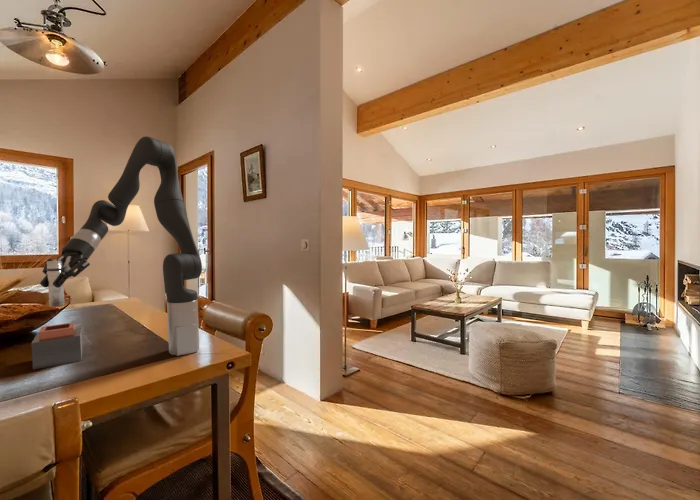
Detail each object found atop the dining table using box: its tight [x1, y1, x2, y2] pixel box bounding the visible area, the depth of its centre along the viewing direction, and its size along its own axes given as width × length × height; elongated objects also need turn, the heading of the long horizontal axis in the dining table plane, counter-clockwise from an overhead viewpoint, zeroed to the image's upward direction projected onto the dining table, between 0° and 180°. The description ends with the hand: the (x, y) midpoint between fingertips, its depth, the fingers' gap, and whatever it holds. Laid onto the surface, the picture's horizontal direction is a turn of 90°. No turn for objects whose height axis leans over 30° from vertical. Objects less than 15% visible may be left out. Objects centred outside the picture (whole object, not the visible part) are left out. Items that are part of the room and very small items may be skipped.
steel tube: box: [46, 260, 66, 308], centre depth 103 cm, size 4×4×14 cm
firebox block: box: [30, 321, 84, 371], centre depth 103 cm, size 11×11×10 cm
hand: (49, 285), depth 101 cm, fingers closed on steel tube, 3 cm apart
